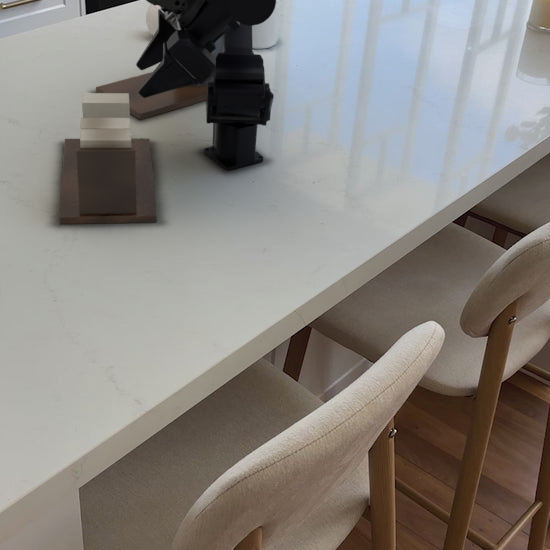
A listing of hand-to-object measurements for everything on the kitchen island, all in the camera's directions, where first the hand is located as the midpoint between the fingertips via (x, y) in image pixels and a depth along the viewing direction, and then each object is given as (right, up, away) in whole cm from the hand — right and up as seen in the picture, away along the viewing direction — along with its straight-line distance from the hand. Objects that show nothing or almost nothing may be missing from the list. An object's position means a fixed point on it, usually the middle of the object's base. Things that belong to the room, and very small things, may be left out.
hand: (139, 80), depth 114 cm
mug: (+12, +19, +53) cm, 57 cm away
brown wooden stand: (-5, -12, +5) cm, 15 cm away
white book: (-5, -10, +7) cm, 13 cm away
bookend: (+1, +5, +31) cm, 32 cm away
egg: (-3, +19, +50) cm, 53 cm away
